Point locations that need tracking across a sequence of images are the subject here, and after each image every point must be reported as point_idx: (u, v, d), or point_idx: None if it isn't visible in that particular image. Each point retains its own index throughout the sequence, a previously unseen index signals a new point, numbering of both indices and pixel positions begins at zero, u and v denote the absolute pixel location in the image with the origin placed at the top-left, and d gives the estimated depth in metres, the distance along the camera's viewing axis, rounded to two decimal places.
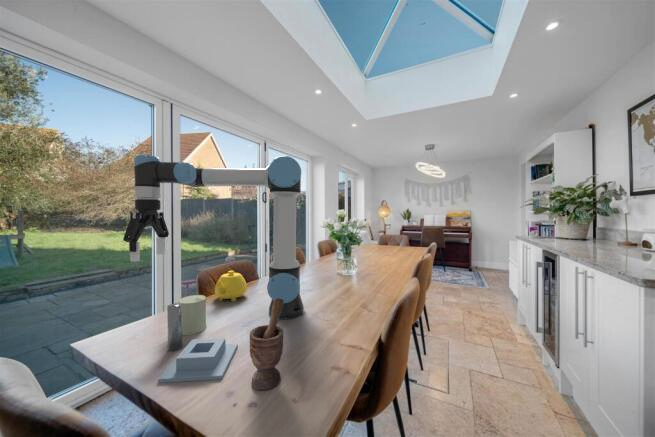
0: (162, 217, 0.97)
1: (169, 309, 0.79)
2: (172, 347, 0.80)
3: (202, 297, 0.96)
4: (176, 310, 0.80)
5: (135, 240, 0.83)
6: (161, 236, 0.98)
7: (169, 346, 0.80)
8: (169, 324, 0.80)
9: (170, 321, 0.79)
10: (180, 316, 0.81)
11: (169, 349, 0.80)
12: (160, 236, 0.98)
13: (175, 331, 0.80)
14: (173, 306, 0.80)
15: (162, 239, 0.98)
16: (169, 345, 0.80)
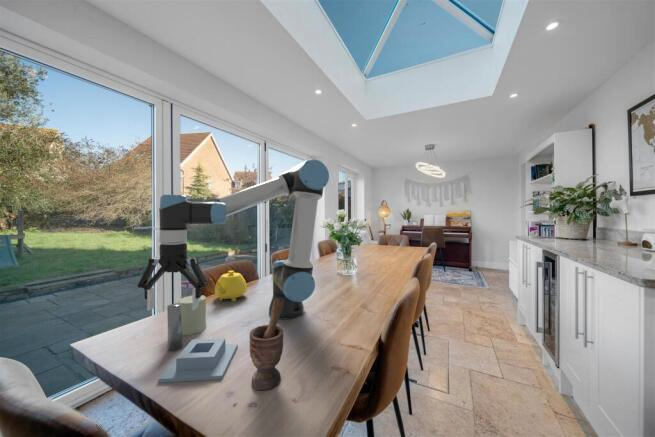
0: (192, 264, 0.80)
1: (169, 309, 0.79)
2: (172, 347, 0.80)
3: (202, 297, 0.96)
4: (176, 310, 0.80)
5: (144, 287, 0.79)
6: None
7: (169, 346, 0.80)
8: (169, 324, 0.80)
9: (170, 321, 0.79)
10: (180, 316, 0.81)
11: (169, 349, 0.80)
12: None
13: (175, 331, 0.80)
14: (173, 306, 0.80)
15: None
16: (169, 345, 0.80)
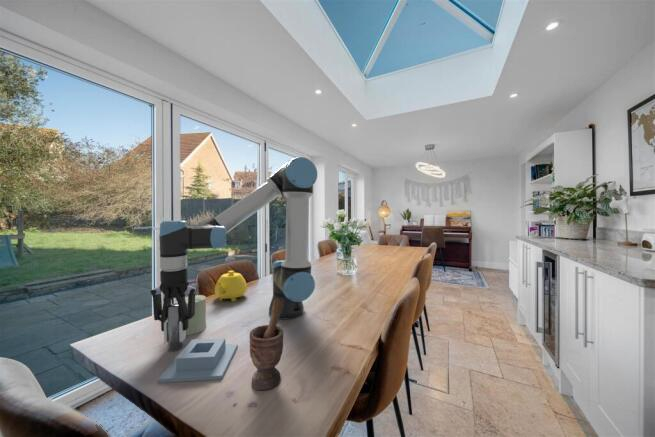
0: (190, 294, 0.80)
1: (169, 309, 0.79)
2: (172, 347, 0.80)
3: (202, 297, 0.96)
4: (176, 310, 0.80)
5: (161, 320, 0.80)
6: None
7: (169, 346, 0.80)
8: (169, 324, 0.80)
9: (170, 321, 0.79)
10: (180, 316, 0.81)
11: (169, 349, 0.80)
12: None
13: (176, 331, 0.80)
14: (173, 306, 0.80)
15: None
16: (169, 345, 0.80)
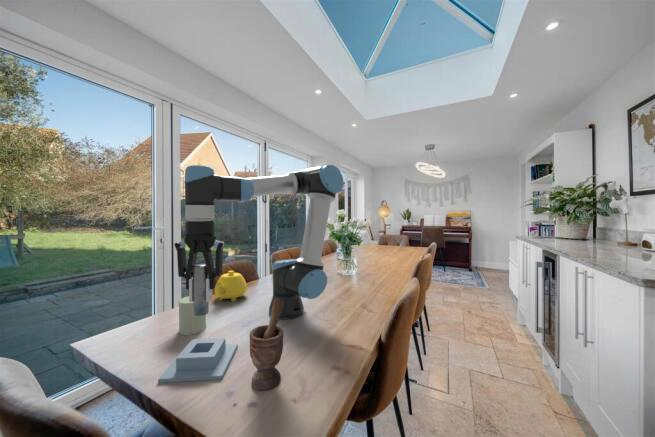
0: (218, 248, 0.72)
1: (195, 269, 0.71)
2: (198, 311, 0.72)
3: None
4: (203, 270, 0.72)
5: (186, 277, 0.72)
6: None
7: (195, 310, 0.72)
8: (195, 285, 0.71)
9: (196, 282, 0.71)
10: (207, 277, 0.73)
11: (195, 313, 0.72)
12: None
13: (202, 293, 0.72)
14: (200, 266, 0.72)
15: None
16: (195, 309, 0.72)
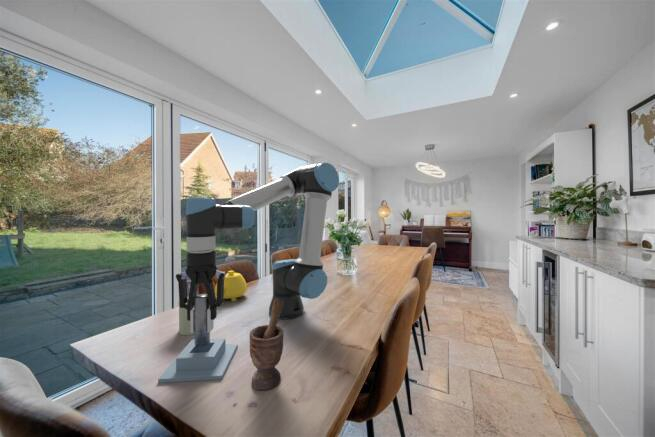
0: (219, 279, 0.72)
1: (196, 300, 0.71)
2: (199, 342, 0.72)
3: None
4: (204, 301, 0.72)
5: (187, 308, 0.72)
6: None
7: (196, 341, 0.72)
8: (196, 317, 0.71)
9: (198, 313, 0.71)
10: (208, 308, 0.73)
11: (196, 344, 0.72)
12: None
13: (203, 324, 0.72)
14: (201, 297, 0.72)
15: None
16: (196, 340, 0.72)
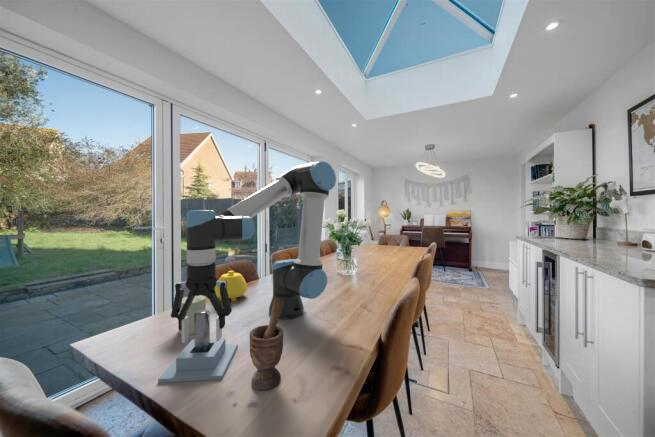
0: (221, 289, 0.73)
1: (196, 317, 0.71)
2: None
3: (202, 297, 0.96)
4: (204, 317, 0.72)
5: (178, 318, 0.72)
6: None
7: None
8: (196, 333, 0.72)
9: (198, 330, 0.71)
10: (208, 324, 0.73)
11: None
12: None
13: (203, 341, 0.72)
14: (201, 313, 0.72)
15: None
16: None
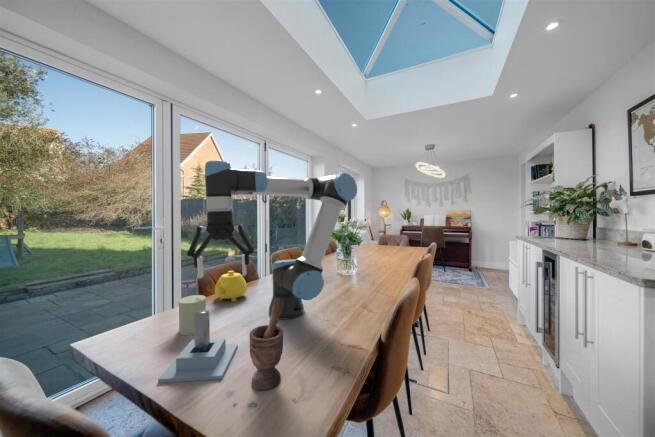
0: (240, 231, 0.80)
1: (196, 317, 0.71)
2: None
3: (202, 297, 0.96)
4: (204, 317, 0.72)
5: (194, 256, 0.79)
6: None
7: None
8: (196, 333, 0.72)
9: (198, 330, 0.71)
10: (208, 324, 0.73)
11: None
12: None
13: (203, 341, 0.72)
14: (201, 314, 0.72)
15: None
16: None
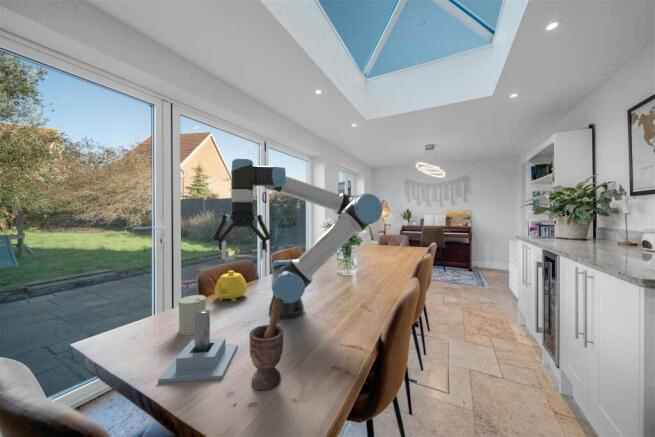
0: (259, 220, 0.93)
1: (197, 316, 0.72)
2: None
3: (202, 297, 0.96)
4: (204, 317, 0.72)
5: (219, 240, 0.91)
6: (262, 240, 0.94)
7: None
8: (196, 333, 0.72)
9: (198, 330, 0.72)
10: (208, 324, 0.73)
11: None
12: None
13: (204, 341, 0.72)
14: (201, 313, 0.72)
15: None
16: None
